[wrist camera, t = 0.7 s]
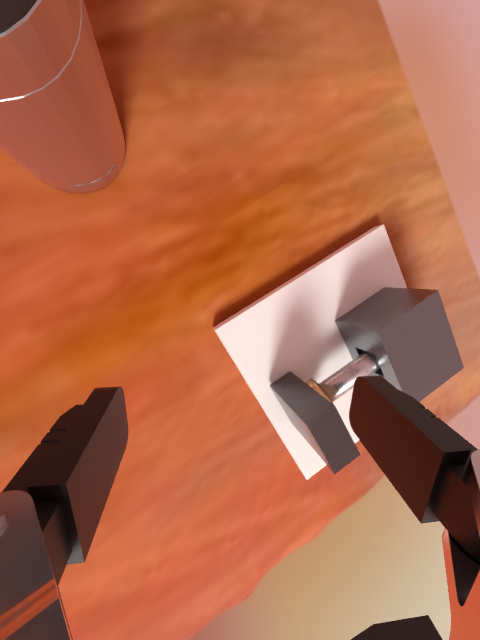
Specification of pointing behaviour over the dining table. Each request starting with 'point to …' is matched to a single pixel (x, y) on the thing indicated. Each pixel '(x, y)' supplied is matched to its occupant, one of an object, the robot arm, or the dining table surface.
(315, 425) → the shaft
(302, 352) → the base board
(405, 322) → the block
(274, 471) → the dining table surface
